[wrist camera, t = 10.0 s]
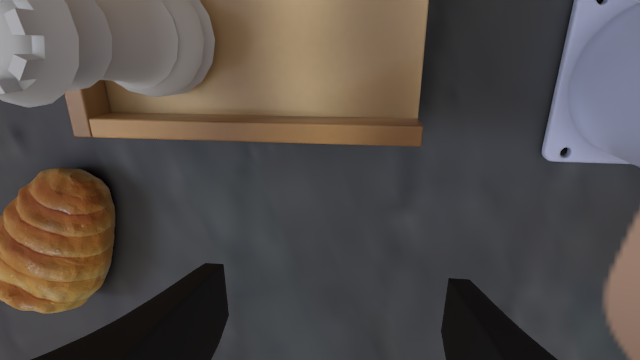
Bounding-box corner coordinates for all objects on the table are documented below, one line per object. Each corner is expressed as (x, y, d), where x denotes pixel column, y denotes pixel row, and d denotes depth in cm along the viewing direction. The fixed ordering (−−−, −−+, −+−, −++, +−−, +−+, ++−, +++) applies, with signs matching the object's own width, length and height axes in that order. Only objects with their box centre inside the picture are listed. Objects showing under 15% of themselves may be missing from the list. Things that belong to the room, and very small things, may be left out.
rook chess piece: (122, 92, 16) (-93, 135, 8) (104, -26, 14) (-180, -102, 7) (223, 97, 15) (92, 147, 8) (216, -24, 14) (45, -102, 6)
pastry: (41, 139, 22) (-20, 158, 19) (144, 192, 23) (104, 220, 19) (13, 254, 25) (-44, 289, 22) (104, 298, 26) (63, 339, 22)
